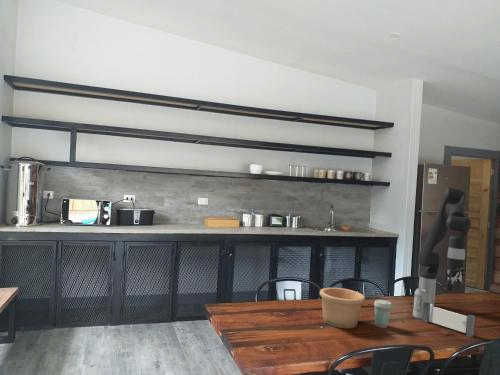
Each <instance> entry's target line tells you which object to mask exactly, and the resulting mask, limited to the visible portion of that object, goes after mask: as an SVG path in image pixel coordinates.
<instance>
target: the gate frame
mask: <svg viewBox="0 0 500 375" xmlns="http://www.w3.org/2000/svg"><path fill="white" fill-rule="evenodd" d="M429 311H430V303H428V302H424V307H423V319H421V320H422V322H423V323H425V324H427V323H430V322H429ZM467 316H468V318H467V330H466V333H465V334H466V335H465V336H466V337H469V338H473V337H474V332H475V322H476V321H475V320H476V318H475V317H476V316H475V315H473V314H467Z"/></svg>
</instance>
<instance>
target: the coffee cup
mask: <svg viewBox="0 0 500 375" xmlns="http://www.w3.org/2000/svg"><path fill="white" fill-rule="evenodd" d="M373 305H374V325H375V327H377V328H381V329H386V328H388V325H389V321H390V318H391V317H390V314H391V311H392V308H393V306H392V303H391V302H390V301H388V300H386V299H375V301H374V303H373Z"/></svg>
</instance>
